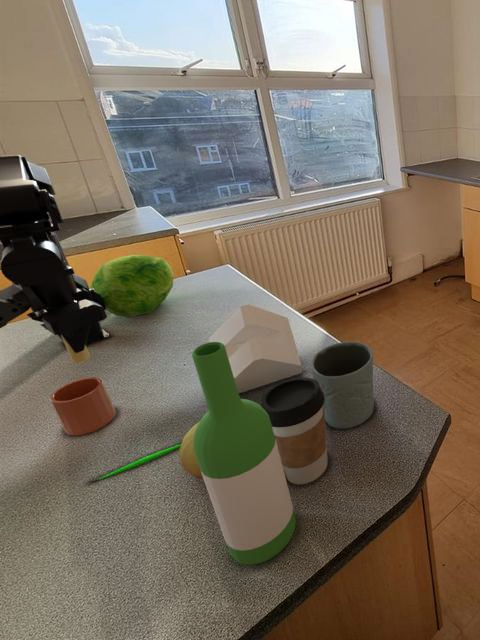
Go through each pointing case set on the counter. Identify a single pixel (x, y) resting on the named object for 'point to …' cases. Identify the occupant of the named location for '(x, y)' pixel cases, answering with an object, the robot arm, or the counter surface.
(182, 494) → the counter surface
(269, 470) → the bottle
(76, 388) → the cup
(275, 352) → the beige block
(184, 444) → the apple
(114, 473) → the leaf
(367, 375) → the grey green pot
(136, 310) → the lettuce
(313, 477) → the coffee cup
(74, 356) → the tan solid cylinder
